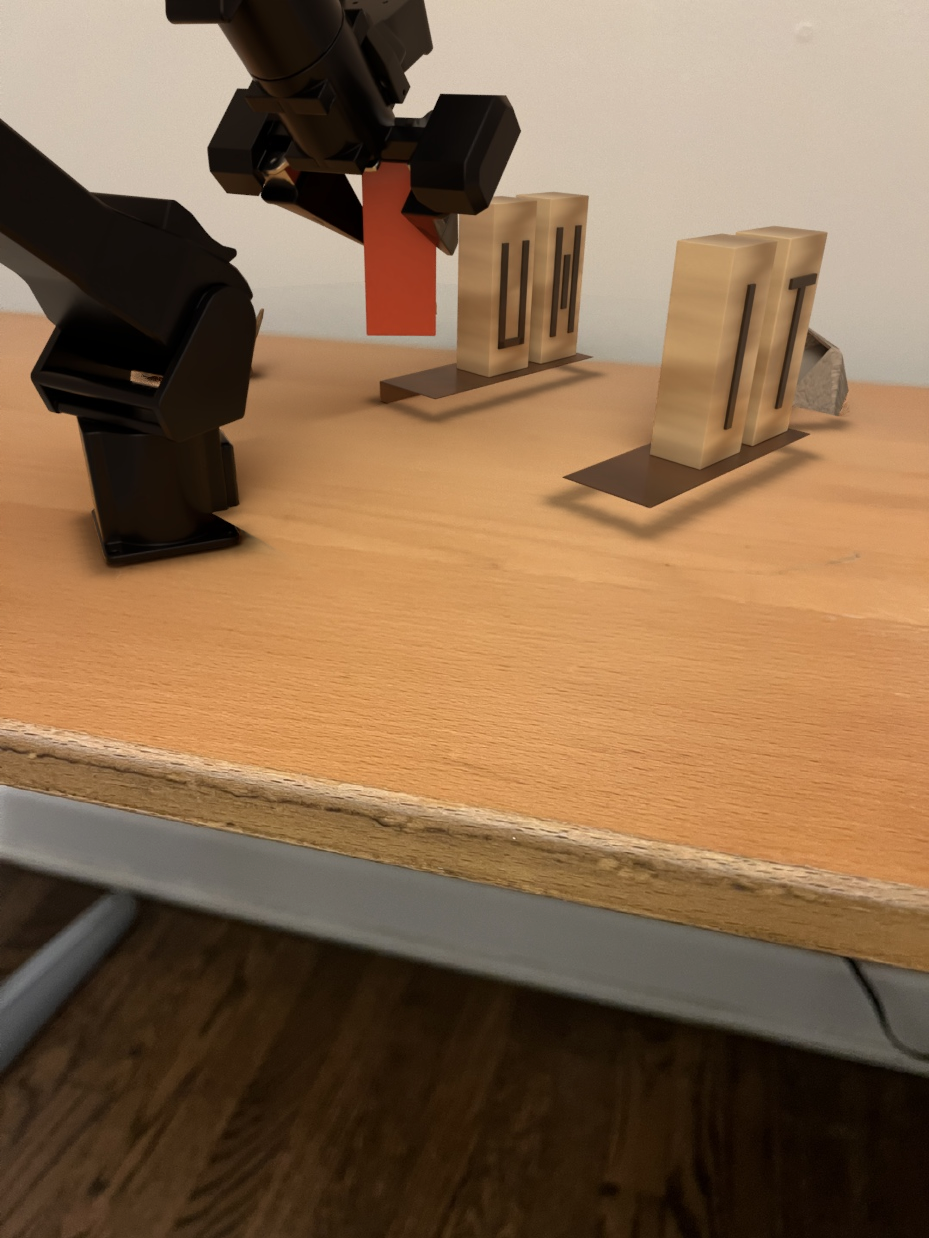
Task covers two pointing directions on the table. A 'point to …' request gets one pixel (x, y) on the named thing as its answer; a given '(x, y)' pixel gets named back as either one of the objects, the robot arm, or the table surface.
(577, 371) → the table surface
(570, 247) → the wooden blocks on base
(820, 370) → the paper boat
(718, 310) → the sit board
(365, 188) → the red letter block
